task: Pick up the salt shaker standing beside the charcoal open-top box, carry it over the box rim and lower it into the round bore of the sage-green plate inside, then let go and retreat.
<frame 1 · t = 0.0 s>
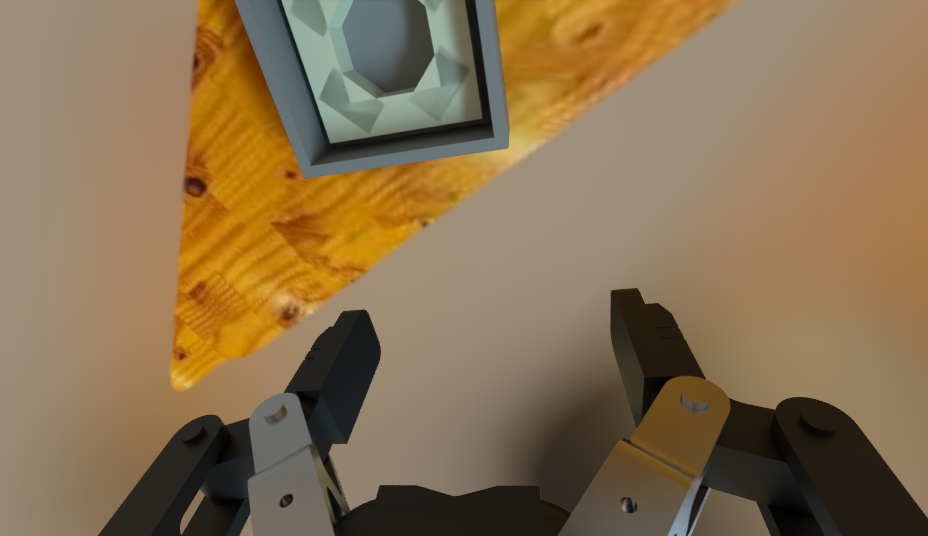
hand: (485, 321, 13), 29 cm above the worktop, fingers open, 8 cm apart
bore box: (394, 39, 35), on the worktop
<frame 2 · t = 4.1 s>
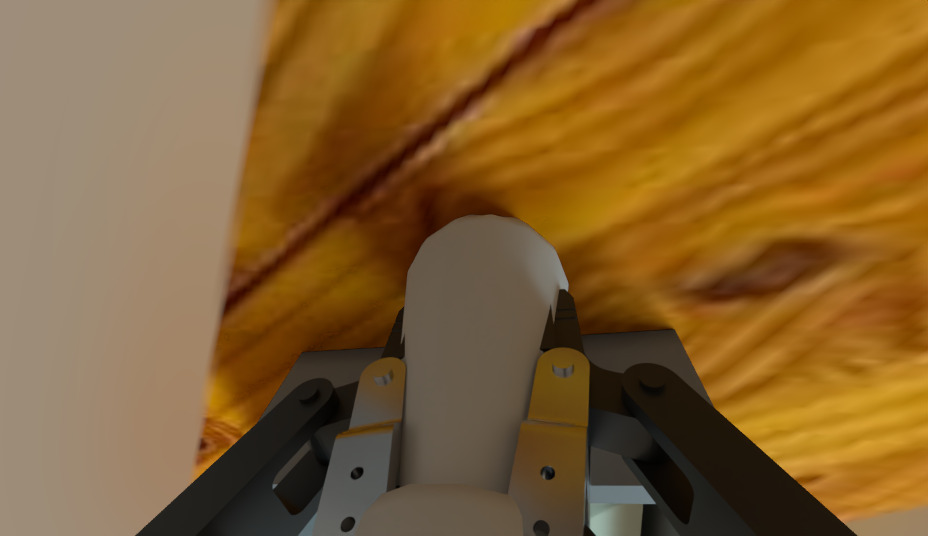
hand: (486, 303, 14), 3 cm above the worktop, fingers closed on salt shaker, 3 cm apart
salt shaker: (490, 255, 17), on the worktop, touching gripper
bore box: (497, 456, 24), on the worktop
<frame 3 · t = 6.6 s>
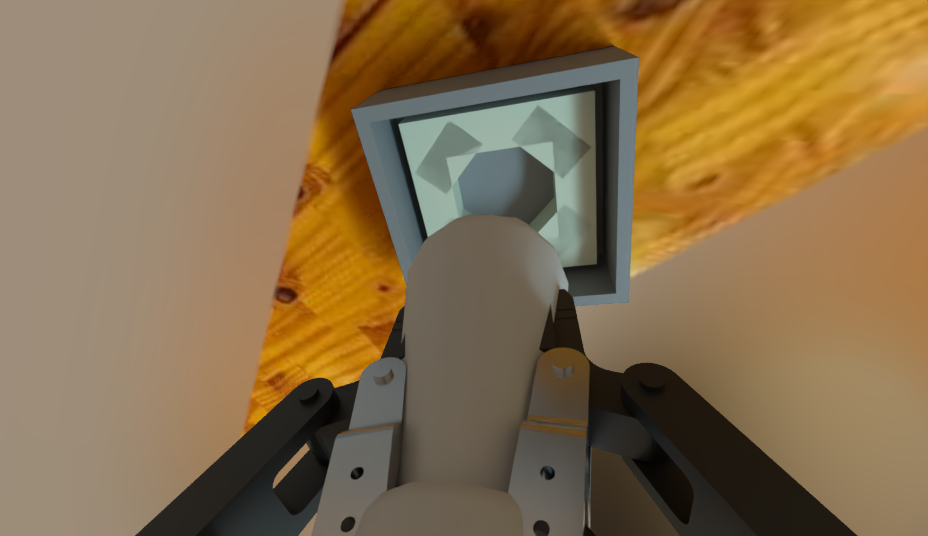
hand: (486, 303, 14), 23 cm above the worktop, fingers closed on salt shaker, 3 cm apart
salt shaker: (490, 255, 17), point 20 cm above the worktop, touching gripper
bore box: (505, 180, 36), on the worktop
when the fingers open (6 cm above the worktop, at t = 9.6 s): salt shaker drops 1 cm, resting on bore box.
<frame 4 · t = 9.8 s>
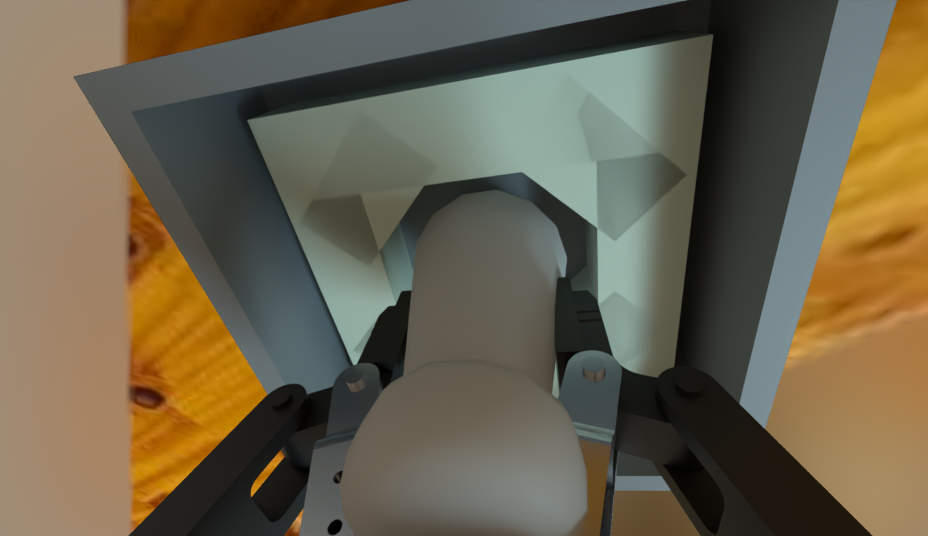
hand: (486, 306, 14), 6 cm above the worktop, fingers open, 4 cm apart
salt shaker: (492, 240, 18), point 1 cm above the worktop, touching bore box
bore box: (494, 231, 19), on the worktop
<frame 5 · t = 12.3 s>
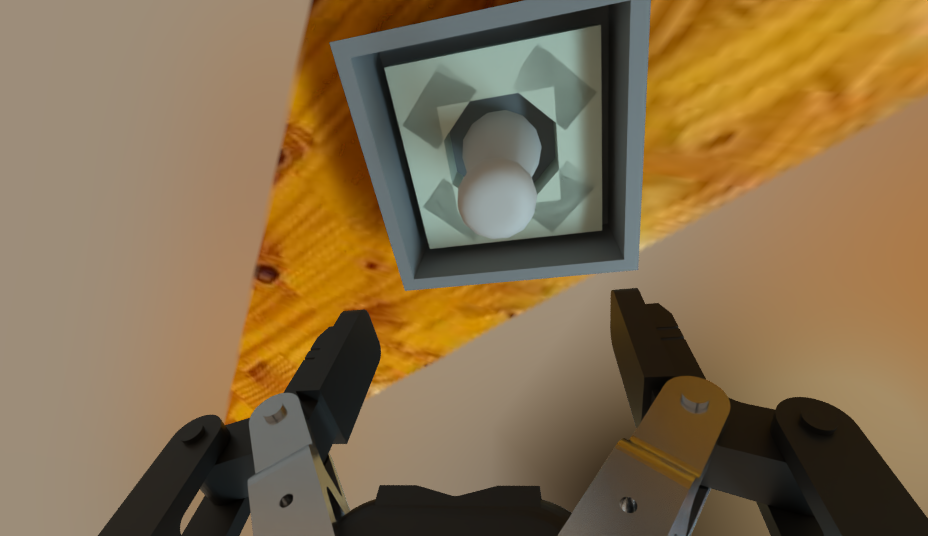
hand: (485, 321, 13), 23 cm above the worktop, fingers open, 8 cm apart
salt shaker: (502, 142, 32), point 1 cm above the worktop, touching bore box
bore box: (502, 141, 33), on the worktop
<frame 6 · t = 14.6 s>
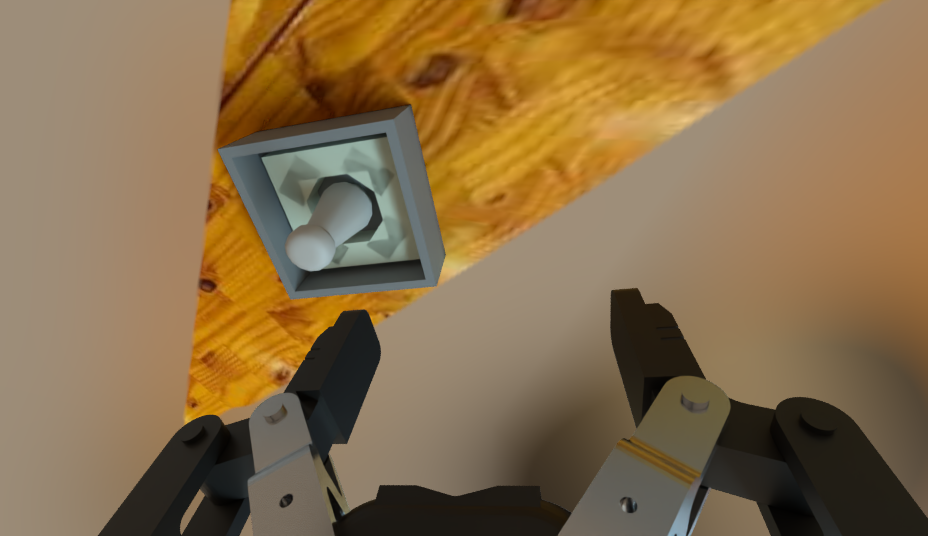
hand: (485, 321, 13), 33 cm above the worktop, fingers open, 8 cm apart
salt shaker: (354, 199, 47), point 1 cm above the worktop, touching bore box
bore box: (356, 197, 48), on the worktop
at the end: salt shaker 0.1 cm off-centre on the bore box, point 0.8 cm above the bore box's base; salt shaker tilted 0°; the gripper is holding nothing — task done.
